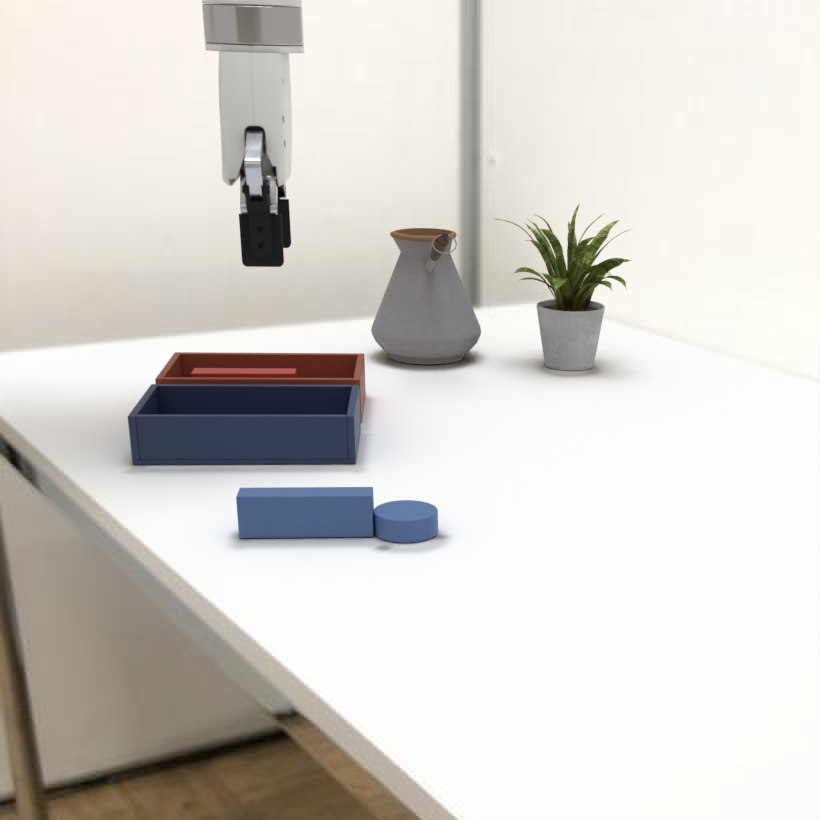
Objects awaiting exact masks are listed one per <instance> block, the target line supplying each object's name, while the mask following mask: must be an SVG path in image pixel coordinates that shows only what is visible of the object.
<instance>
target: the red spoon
mask: <svg viewBox="0 0 820 820" xmlns="http://www.w3.org/2000/svg"><path fill="white" fill-rule="evenodd" d="M191 377H212V378H297V369H296V368H194V370H193V371H192V373H191Z"/></svg>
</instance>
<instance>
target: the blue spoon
mask: <svg viewBox="0 0 820 820" xmlns="http://www.w3.org/2000/svg"><path fill="white" fill-rule="evenodd" d="M374 499H375V498H374V487H373V486H306V487H305V486H304V487H303V486H302V487H301V486H300V487H297V486H296V487H294V486H293V487H292V486H291V487H289V486H288V487H287V486H286V487H283V486H281V487H239V489H238V492H237V494H236V497H235V501H236V502H235V503H236V515H237V527H238V538H239V539H282V538H283V539H297V538H298V539H299V538H300V539H301V538H303V539H307V538H308V539H311V538H373V537H374V535H375V536H376V537H377V538H378V539H380V540H383V541H386V542H391V543H400V544H405V543H406V544H407V543H408V544H409V543H419V542H424V541H428V540H430V539H433V538H434V537H436V536H437V535H438V533H439V509H438V508H437V506H436V505H434V504H431V503H429V502H425V501H422V500H415V499H414V500H413V499H412V500H411V499H399V500H392V501H387V502H383V503H381V504H378V505H377V506H376V507H375V502H374V501H375V500H374Z"/></svg>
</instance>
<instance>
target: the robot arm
mask: <svg viewBox="0 0 820 820" xmlns="http://www.w3.org/2000/svg"><path fill="white" fill-rule="evenodd" d="M201 4H202V5H201V8H202V10H201V11H202V21H203V23H202V24H203V33H204V34H203V37H204V47H205V51H209V52H218V102H219V103H218V105H219V125H220V127H219V128H220V146H221V147H220V149H221V173H222V175H221V177H222V181H223V183H225V184H226V185H227V186H228V187H233V186H234V185H235V184H236V183H237V181H238V180H239V183H240V184H239V198H240V199H239V207H240V208H239V209H240V213H238V221H239V239H240V251H241V252H240V253H241V262H242V265H243V266H244V267H249V268H250V267H254V268H255V267H256V268H280V267H282V266H283V265H284V263H285V254H284V249H288V248H290V247H291V245H292V231H291V215H290V213H291V212H290V199H289V198H287V182H288V180H289V178H290V176H291V173H292V160H293V159H292V157H293V155H292V154H293V111H292V88H291V87H292V86H291V68H290V67H291V66H290V54H305V38H304V37H305V36H304V17H303V16H304V15H303V0H201Z"/></svg>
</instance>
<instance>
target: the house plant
mask: <svg viewBox="0 0 820 820" xmlns="http://www.w3.org/2000/svg"><path fill="white" fill-rule="evenodd" d="M580 204H581V203H578V205H577V206H576V208H575V210H574V211H573V214H572V217H571V221H570V222H569V221H567V222H568V223H567V231H568V232H567V237H566V238H567V247H566V248H567V250H566V258H567V259H566V260H565V255H564V250H563V246H562V244H561V242H560V240H559V239H558V237H557V236H556V235H555V234H554V232H553V229H552V227H551V226H550V223H549V222H547V220H546V219H545V218H543V217H542V216H540V215H537V214H535V213H533V214H532V215H533V216H535V217H538V218H540V219H541V220H543V221H544V223H545V225H546V226H547V227H548V229H546V228H539V226H538V225H537V223H535V222H533V221H532V220H530V219H528V218H527V221H529V222H530V224H532V225H533V226H534V227H535V228H533V227H532V226H530V225H528V224H527V223H524V225H525V226H526V228H528V230H529V231H531V233H532V234H533V236H534V238H535V239H536V240H535V239H533V237H532V236H531V234H529V233H528V231H527V230H526V229H524V228H523V227H522V226H520V224H517V223H515V222H512V221H510V220H505V219H501V218H500V219H499V218H495V220H497V221H502V222H507V223H510V224H513V225H514V226H517V227H519V228H520V229H521V230H523V231H524V232H525V233H526V235H527V236H528V237H529V238H530V239H525V240H524V241H526V242H531V244H532V245H534V247H535V248H536V249H537V251H538V252H539V254H540V256H541V258H542V260H543V261H544V264H545V268H546V270H547V273H544V272H537V271H536V270H535V269H533V268H529V267H527V266H521V267H519V268H517V269H516V270H515V271H514V272H513V273H512V275H514V274H517V273H528V274H529V273H530V274H533V275H535V276H537V278H536V277H529V276H528V277H523V278H520V279H518V281H517V282H519V281H524V280H526V281H527V280H534V281H538V282H541V283H543V284H544V285H546V286H547V288H548V290H549V292H550V293H551V295H552V296H553V299H545V300H541V301H538V302H537V303H536V311H537V320H538V326H539V332H540V333H539V335H540V340H541V349H542V354H543V363H544V366H545V367H547V368H548V369H549V368H550V369H553V370H558V371H585V370H589V369H592V368H594V366H595V362H596V361H595V360H596V355H597V351H598V345H599V340H600V335H601V330H602V324H603V319H604V314H605V310H606V306H605V304H603V303H601V302H598V301H593V300H592V297H593V295H594V292H595V289H596V288H597V287H598V286H599V285H602V286H605V287H607V288H609V289H610V290H611V291H613V288H612V283H611V282H610V281H608V280H605V279H613V280H614V281H615V280H616V281H617V282H619V283H621V284H622V286H624V287H625V290H626V291H628V290H627V283H626V282H627V281H626V280H625V279H624V278H622V277H621V276H618V275H612V273H611V272H610V271H611V270H613V269H616V268H617V267H619V266H621V265H622V264H623V263H628V262H631V259H626V258H623V257H611V258H608V259H605V260H603V261H601V262H599V263H598V264H594V263H595V261H596V260H597V258H598V257H599V255H600V254H601V252H602V251H603V250H604V249H605V248H606V246H608V244H609V243H610V242H611V241H613V240H615V239H616V238H617V237H619V236H620V235H621V234H624V233H626V232H630V229H629V230H628V229H627V230H624V231H622V232H620V233H618V234H617V235H616V236H613V238H611V239H610V240H608V241H607V242H606V240H607V239H608V236H609V234H610V231H611V229H612V228H613V227H614V226H615V225H616V224H617V223H619V222H620V219H618V220H614V221H612V222H610V223H608V224H606V225H605V226H604V227H603V228H601V229H600V230H599V232H597V234H596V235H595V236H591V237H587V238H585V239H583V240H582V238H583V237H584V236H585V234H586V233H587V231H588V229H589V228H590V227H591V226H593V224H594V223H595V222H597V221H598V220H599V219H600V218H601V217H602V216H603V215H604V213H602V214H600V215H599V216H598V217H597V218H595V219H594V220H593V221H592V222H591V223H590V224H589V225H588V226H587V227H586V228H585V230H584V231H583V232H582V234H581V236H580V239H579V241H578V240H577V234H576V219H577V215H578V212H579V207H580ZM632 230H634V229H631V231H632ZM604 242H606V243H605V244H604ZM603 244H604V246H602V245H603ZM601 246H602V247H601ZM593 264H594V265H593ZM538 277H539V278H538Z"/></svg>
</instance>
